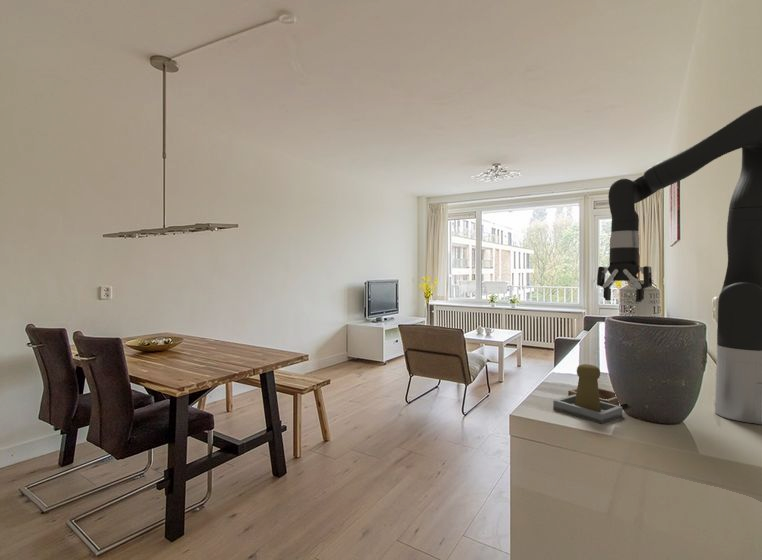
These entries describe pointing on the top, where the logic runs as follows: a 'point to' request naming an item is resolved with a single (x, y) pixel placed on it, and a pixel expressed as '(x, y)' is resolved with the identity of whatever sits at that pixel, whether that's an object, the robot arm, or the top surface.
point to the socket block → (602, 396)
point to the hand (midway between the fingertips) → (622, 301)
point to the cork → (588, 387)
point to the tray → (588, 410)
